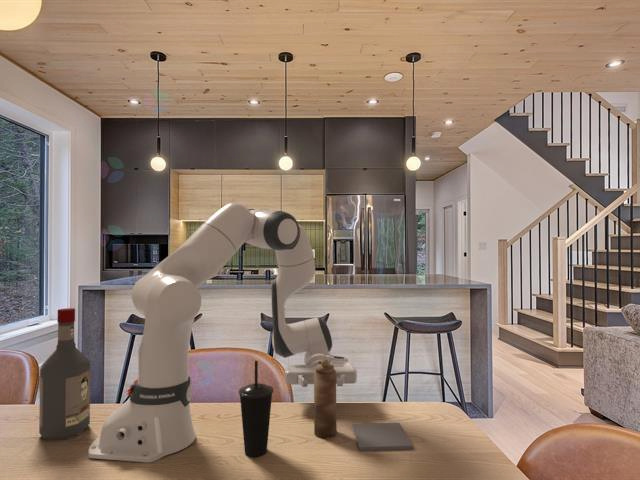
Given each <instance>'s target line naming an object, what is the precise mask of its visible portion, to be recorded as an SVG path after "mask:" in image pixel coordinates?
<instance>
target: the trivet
mask: <svg viewBox="0 0 640 480" xmlns="http://www.w3.org/2000/svg"><path fill="white" fill-rule="evenodd" d="M351 425H352V426H351V427H352V430H353V431H352V432H354V436H355V440H356V443H357V446H358V449H359V450H358V451H360V452H364V451H366V452H367V451H369V452H370V451H393V450H394V451H397V450H399V451H400V450H401V451H403V450H414V445H413V443H412V441H411V440H410V438H409V437H408V435H407V432H406V431H405V430H404V428H403V426H402V425H401V423H400V422H372V423H370V422H369V423H368V422H367V423H366V422H365V423H352V424H351Z"/></svg>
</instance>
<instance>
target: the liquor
mask: <svg viewBox="0 0 640 480" xmlns="http://www.w3.org/2000/svg"><path fill="white" fill-rule="evenodd" d="M75 322H76V308H74V307H73V308H71V307H69V308H59V309H57V322H56V323H57V328H58V329H57V344H56V347H55V348H56V349H55V350H54V351H53V352H52V353H51V354H50V355H49V357H47V359H46V360H44V362H43V363H42V365H41V367H40V369H39V420H38V421H39V425H38V427H39V430H38V432H39V434H40V436H41V437H42V438H43V440H67V439H70V438H69V437H71V438H73V436H74V437H77V436H78V435H79V434H81V433H82V432H83V431H84V430H86V429H87V428H88V427H89V425H90V423H91V422H90V421H91V362H90V359H89V358H88V357H87V356H86V355H85V354H84V353H83V352H82V351H80V350H79V349H78V348H77V347H76V345H77V344H76V342H75ZM66 438H67V439H66Z"/></svg>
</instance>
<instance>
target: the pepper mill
mask: <svg viewBox="0 0 640 480" xmlns="http://www.w3.org/2000/svg"><path fill="white" fill-rule="evenodd" d="M313 389H314V390H313V414H314V415H313V418H314V419H313V420H314V421H313V422H314V424H313V427H314V432H313V433H314V436H315V437H316V438H319V439H331V438H334V437H336V436H337V435H338V434H337V432H338V431H337V384H336V370H334V366H333V365H331V364H329V363H328V360H326V359H324V360H322V362H321V364H319V365H317V366H316V370H314V384H313Z"/></svg>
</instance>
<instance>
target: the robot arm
mask: <svg viewBox="0 0 640 480" xmlns="http://www.w3.org/2000/svg"><path fill="white" fill-rule="evenodd" d="M244 244H245V245H247V246H253V247H256V248H259V249H264V250H274V252H275V256H276V257H275V258H276V261H277V267H278V269H277V270H278V271H277V275H276V278H274V279H273V280H272V282H271V314H272V326H273V327H272V335H271V344H272V348H273V350H274V352H275V354H276V355H278V356H280V357H282V358H285V359H286V358H289V357H293V356H295V355H298V354H301V353H305V354H304V358H303V360H304V361H303V362H304V364H292V365H289V366H287V368H285V369H284V376H285V377H284V383H285V384H286V385H290V386H292V385H301V387H302V388H307V387H308V385H314V370H316V366H317V365H319V364H321V362H322V360H324V359H326V360H328V363H329V364H331V365H333V366H334V370H336V387H343V385H345V384H351V385H352V384H356V383H357V377H358V375H357V373H358V372H357V371H358V370H357V369H356V366H354V364H353V363H351V362H350V361H349V359H348V357H345V356H339V355H332V354H331V353H330V352H331V351H332V348H333V340H332V336H331V332H330V329H329V326H328V325H327V322H326V321H325V320H323V318H320V317H312V318H310V319H309V318H308V319H305V320H300V321H297V322H292V323H286V316H285V315H286V313H285V312H286V311H285V309H286V308H285V304H286V302H287V300H288V299H289V298H291V297H292V296H293V295H294V294H296V293H298V292H299V291H301V290H302V289H304V288H305V287H306V286H308V284H310V283H311V281H312V280H313V278H314V277H315V273H316V264H315V256H314V252H313V248H312V245H311V242H310V239H309V236H308V234H307V231H306V230H305V228H304V226H302V224H299V222H298V221H297V219H296V218H295V217H294V215H292V214H290V213H288V212H286V211H283V210H274V209H268V208H257V209H255V208H247V207H246V206H244V205H243V204H240V203H238V202H229V203H226V205H224V206H223V207H221V208H219V209H218V210H217V211H216V212H215V213H213V214H211V215H210V216H209V217H208V218H207V219H206V220H205V221H204V222H203V223H202V224H201V225H200V226H199V227H198V228H197V229H196V230H195V231H194V232H193V233H192V234H191V235H190V236H189V237H188V238H187V239H186V240H185V241H184V242H183V243H182V245H181V246H180V245H179V247H178V248H177V249H176V250H175V251H172V253H170V254H169V255H167V257H165V258H164V259H163V260H161V261H160V262H159V263H158V264H157V265H155V267H153V268H152V269H151V270H149V271H148V272H147V273H146V274H145V275H144V276H142V277H141V278H140V279H138V280H137V281H136V282H135V284H134V285H133V287H132V290H131V300H132V303H133V306H134V307H135V309H136V310H137V311H138V312H139V313H140V314H141V315H143V316H144V327H143V332H142V338H141V341H140V344H139V346H138V350H137V354H138V355H137V361H138V362H137V364H138V365H137V378H136V379H135V380H134V381H133V384H131V385H130V386H129V388H128V389H127V390H126V392H127V393H126V396H129V399H128V400H126V401H125V402H124V403H122V404H121V405H120V406H119V407H118V408H116V409H115V410H114V411H113V412H111V414H109V416H108V417H107V418H106V419H105V420H104V422H103V425H102V427H101V432H100V435H98V436H97V438H95V439H94V440H93V442H92V443H91V444H90V446H89V447H88V451H87V457H88V458H89V459H98V460H109V461H110V460H111V461H122V462H123V461H124V462H125V461H126V462H135V463H136V462H137V463H139V462H140V463H153V462H156V461H158V460H159V459H161V458H164V457H165V456H168V455H171V454H175V453H177V452H179V451H181V450H184V449H186V448H187V447H189V446H190V445H191V444H193V443H194V441H195V440H196V438H197V437H196V435H197V434H196V432H195V430H194V425H193V422H192V421H193V420H192V413H191V407H190V403H191V398H192V385H191V377H190V376H189V374H190V373H189V371H190V370H189V369H190V368H189V365H190V364H189V362H190V357H189V355H190V352H189V351H190V341H191V337H192V332H193V326H194V323H195V318H196V316H197V315H198V313H199V312H200V309H201V306H202V295H201V292H200V290H199V289H198V288H199V287H200V286H202V285H203V284H204V283H206V282H207V281H209V280H211V279H212V278H214V277H215V276H216V275H218V273H219V272H220V271H221V270H222V269H223V268H224V266H226V265H227V263H228V262H229V261H230V260H231V259H232V258H233V256H235V254H236V253H237V252H238V250H240V248H242V245H244Z"/></svg>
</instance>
